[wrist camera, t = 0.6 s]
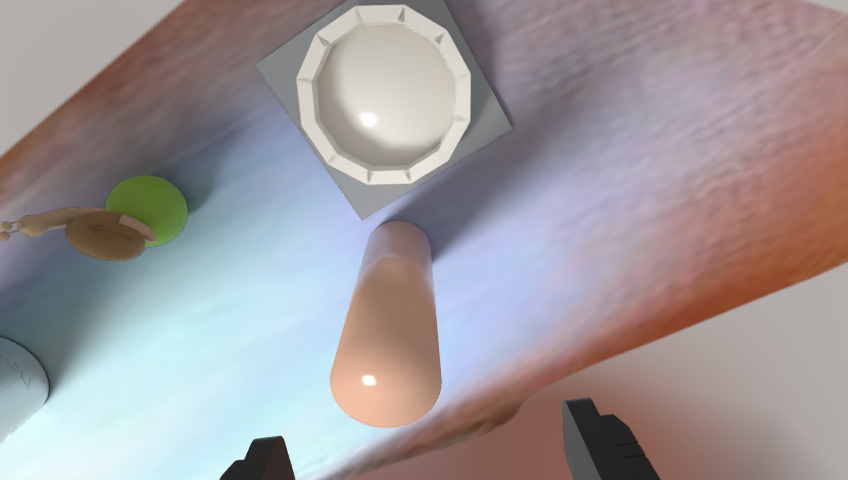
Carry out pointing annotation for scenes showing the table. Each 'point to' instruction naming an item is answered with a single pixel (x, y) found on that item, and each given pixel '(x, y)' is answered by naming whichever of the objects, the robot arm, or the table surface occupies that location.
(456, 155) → the felt mat
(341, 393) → the peach capsule cylinder
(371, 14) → the ceramic dish
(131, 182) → the snail figurine
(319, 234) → the table surface
